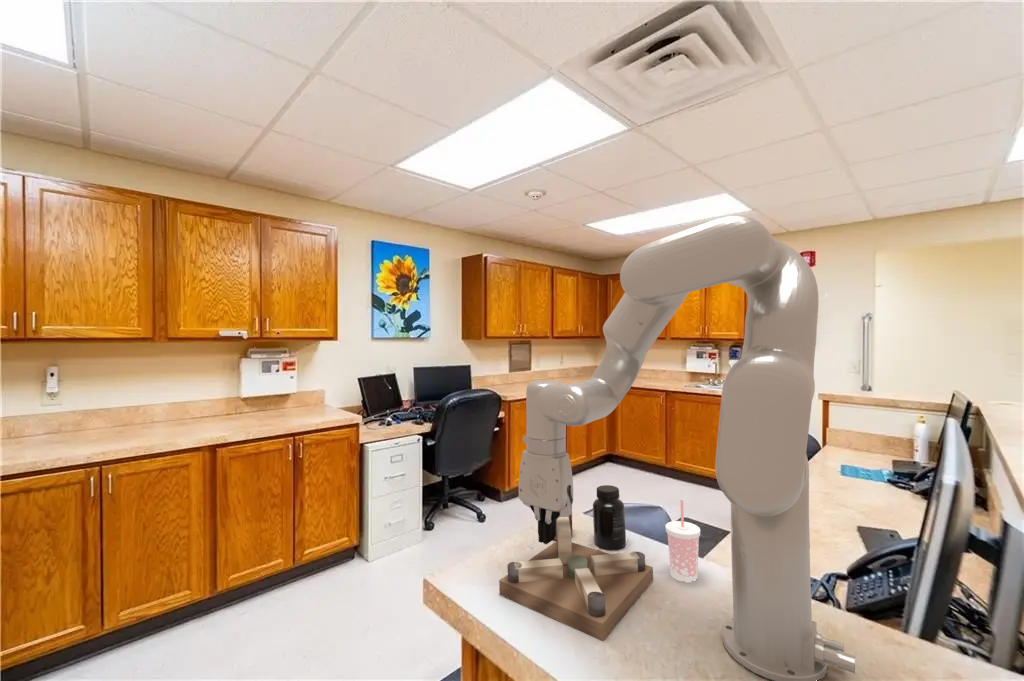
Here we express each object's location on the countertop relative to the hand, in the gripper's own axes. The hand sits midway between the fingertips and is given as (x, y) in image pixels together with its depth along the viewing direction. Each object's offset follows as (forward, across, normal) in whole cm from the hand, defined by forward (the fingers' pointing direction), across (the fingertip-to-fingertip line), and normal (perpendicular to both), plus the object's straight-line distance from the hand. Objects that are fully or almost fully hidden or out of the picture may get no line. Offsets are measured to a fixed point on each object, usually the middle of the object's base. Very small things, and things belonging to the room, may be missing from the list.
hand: (546, 540), depth 83 cm
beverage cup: (+6, +21, +14) cm, 26 cm away
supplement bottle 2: (+6, +4, +18) cm, 20 cm away
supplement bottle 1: (+7, -7, +15) cm, 18 cm away
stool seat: (+6, +7, -1) cm, 9 cm away
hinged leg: (+3, +1, +4) cm, 6 cm away
